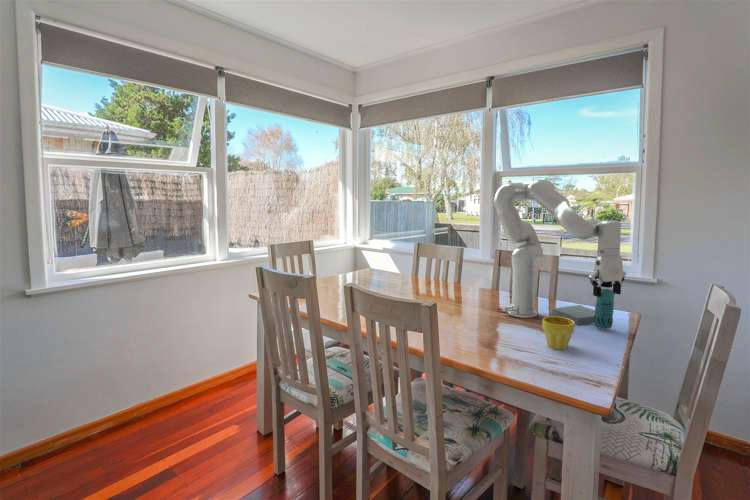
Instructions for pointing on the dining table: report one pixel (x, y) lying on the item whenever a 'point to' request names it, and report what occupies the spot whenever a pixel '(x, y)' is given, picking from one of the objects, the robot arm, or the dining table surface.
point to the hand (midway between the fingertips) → (606, 294)
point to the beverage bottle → (604, 307)
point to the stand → (576, 314)
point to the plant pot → (558, 331)
